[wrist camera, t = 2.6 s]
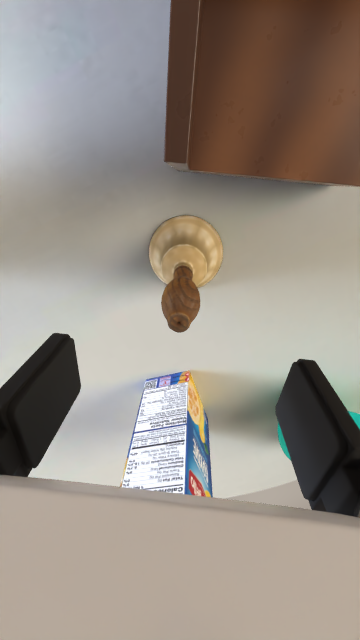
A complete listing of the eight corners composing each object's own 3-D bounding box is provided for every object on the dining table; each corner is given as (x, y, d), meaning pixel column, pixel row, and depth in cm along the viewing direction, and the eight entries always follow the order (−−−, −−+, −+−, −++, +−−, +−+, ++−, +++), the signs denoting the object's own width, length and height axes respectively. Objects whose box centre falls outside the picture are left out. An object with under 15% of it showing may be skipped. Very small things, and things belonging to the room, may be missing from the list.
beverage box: (189, 369, 36) (184, 583, 17) (207, 419, 41) (220, 628, 22) (145, 379, 37) (95, 587, 18) (169, 426, 42) (148, 628, 23)
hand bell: (144, 217, 26) (88, 258, 12) (223, 212, 26) (258, 249, 12) (153, 290, 30) (119, 383, 16) (222, 287, 30) (246, 381, 16)
